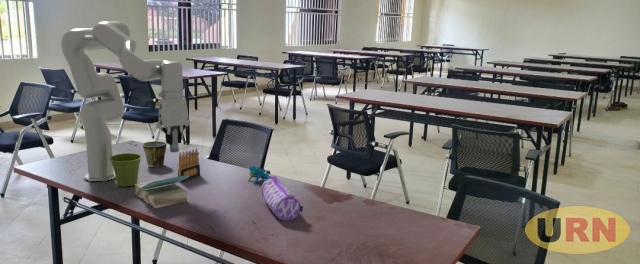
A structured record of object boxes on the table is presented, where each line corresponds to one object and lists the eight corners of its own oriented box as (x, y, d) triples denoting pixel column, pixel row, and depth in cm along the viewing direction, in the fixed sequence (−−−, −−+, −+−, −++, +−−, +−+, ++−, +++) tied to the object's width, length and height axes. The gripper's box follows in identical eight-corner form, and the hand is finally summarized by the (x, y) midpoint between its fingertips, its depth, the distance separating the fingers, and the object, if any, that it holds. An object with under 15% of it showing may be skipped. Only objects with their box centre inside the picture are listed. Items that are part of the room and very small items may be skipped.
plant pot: (104, 187, 203) (102, 159, 201) (123, 178, 214) (121, 152, 212) (132, 190, 200) (130, 162, 198) (149, 181, 212) (147, 154, 209)
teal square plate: (141, 190, 189) (141, 187, 189) (175, 183, 198) (175, 180, 198) (153, 184, 180) (153, 181, 180) (188, 177, 188) (188, 174, 189)
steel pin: (168, 151, 198) (167, 125, 196) (176, 149, 201) (175, 124, 198) (172, 152, 196) (171, 126, 194) (180, 151, 198) (179, 125, 196)
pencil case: (303, 220, 176) (303, 193, 174) (277, 224, 173) (277, 196, 171) (281, 198, 196) (282, 174, 194) (257, 201, 192) (257, 177, 190)
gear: (276, 179, 213) (261, 165, 207) (269, 191, 210) (253, 178, 205) (260, 176, 221) (245, 163, 215) (253, 188, 219) (237, 175, 213)
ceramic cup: (144, 163, 237) (142, 141, 234) (167, 161, 240) (166, 140, 237) (143, 171, 225) (142, 148, 222) (168, 170, 228) (167, 147, 225)
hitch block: (135, 194, 197) (134, 184, 196) (165, 188, 204) (165, 178, 203) (155, 208, 183) (154, 197, 182) (187, 201, 191) (186, 190, 190)
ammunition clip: (181, 182, 212) (180, 153, 209) (177, 181, 213) (176, 152, 210) (200, 175, 221) (199, 148, 218) (197, 175, 222) (196, 147, 219)
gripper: (155, 98, 185) (157, 148, 190) (197, 94, 196) (198, 142, 200) (146, 95, 191) (148, 144, 195) (187, 91, 202) (188, 138, 206)
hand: (174, 142), depth 198 cm, fingers closed on steel pin, 3 cm apart
